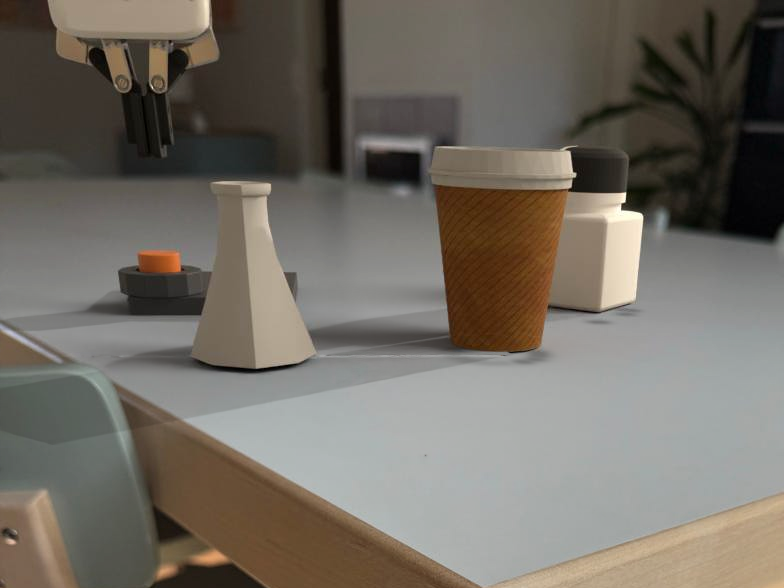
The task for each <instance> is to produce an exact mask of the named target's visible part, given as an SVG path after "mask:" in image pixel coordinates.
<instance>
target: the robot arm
mask: <svg viewBox="0 0 784 588" xmlns="http://www.w3.org/2000/svg"><path fill="white" fill-rule="evenodd" d="M47 5H48V9H49V14H50V18H51V21H52V23H53V26H54V27H55V28H56V39H55V40H56V41H55V50H56V54H57V55H58V56H59V57H60V58H62V59H65V60H69V61H72V62H77V63H80V64H83V65H87V66H90V67H93V68H95V69H96V70H97V71H98V72H99V73H100V74H101V75H102V76H103V77H105V78H106V80H107V81H108V82H109V83H111V84H112V86H114V88H115V89H116V90H117V91H118V92H119V93H120V97H121V102H122V104H121V105H122V111H123V118H124V125H125V132H126V137H127V142H128V145H129V146H136V151H137V155H138V156H137V157H138V158H139V159H148V158H154V159H164V158H167V157H168V150H167V149H168V148H167V146H174V144H175V139H174V129H173V122H172V121H173V120H172V114H171V105H170V97H169V94H170V93H171V92H172V90H173V88H174V87H175V85H176V84H177V83H178V82H179V81H180V79H181V78H182V77H183V75H184V74H185V73H186V72H187V70H188V69H192V68H196V67H201V66H203V65H207V64H211V63H214V62H217V61H218V60H219V59H220V55H221V53H220V50H219V45H218V42H217V40H216V37H215V33H214V30H213V12H212V11H213V10H212V1H211V0H47ZM84 41H89V42H99V43H101V44H102V47H103V48H101V47H98V46H94V45H91V44H87V43H85V42H84ZM128 43H132V44H133V43H134V44H137V43H138V44H149V45H148V48H149V50H148V51H149V52H148V53H149V54H148V57H149V58H148V81H147V83H146V84H145V87H146V92H145V93H144V92H143V87H142V84H141V83H140V82H139V81H138V78H137V75H136V71H135V66H134V63H133V60H132V56H131V52H130V47H129V44H128ZM174 44H190V45H186V46H183V47H180V48H175V49H174Z"/></svg>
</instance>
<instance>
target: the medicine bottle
mask: <svg viewBox="0 0 784 588" xmlns="http://www.w3.org/2000/svg"><path fill="white" fill-rule="evenodd" d="M559 150H566V151H570V154H571V162H572V169H573V173H576V177H574V178H572V186H571V188H568V194H567V199H566V205H565V210H564V216H563V222H562V227H561V234H560V239H559V245H558V250H557V257H556V261H555V267H554V273H553V279H552V286H551V290H550V296H549V302H548V307H551V308H552V307H553V308H561V309H568V310H577V311H586V312H592V313H601V312H605V311H608V310H611V309H615V308H619V307H623V306H625V305H629V304H633V303H635V301H636V296H637V287H638V276H639V266H640V255H641V246H642V237H643V236H642V234H643V225H644V215H643V214H642V213H641V212H637V211H634V210H633V211H632V210H622V204H624V203H626V198H627V188H628V187H627V186H628V177H629V167H630V157H629V155H628V154H627V153H626V152H625V151H624V150H622V149H620V148H616V147H612V146H606V145H605V146H601V145H599V146H598V145H570V146H564V147H562V148H560V149H559Z"/></svg>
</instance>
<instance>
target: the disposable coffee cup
mask: <svg viewBox="0 0 784 588" xmlns="http://www.w3.org/2000/svg"><path fill="white" fill-rule="evenodd" d="M426 170H427V173H428V174H430V183H431V184H433V185H434V194H435V204H436V205H435V206H436V213H437V225H438V233H439V242H440V244H439V245H440V253H441V264H442V273H443V282H444V292H445V302H446V311H447V320H448V322H447V323H448V329H449V330H448V331H449V341H450V343H451V344H452V345H454V346H457V347H460V348H463V349H469V350H474V351H477V350H478V351H485V352H507V353H514V352H524V351H531V350H535V349H537V348H539V347H540V346H542V341H543V336H544V330H545V324H546V319H547V313H548V307H549V306H548V302H549V296H550V290H551V286H552V279H553V273H554V267H555V261H556V257H557V250H558V245H559V239H560V234H561V227H562V222H563V216H564V210H565V205H566V199H567V194H568V188H571V186H572V178H574V177H576V173H573V169H572V162H571V154H570V151H566V150H560V149H549V148H526V147H525V148H524V147H500V146H499V147H497V146H450V145H449V146H448V145H447V146H446V145H445V146H434V150H433V155H432V159H431V165H430V167H427V168H426Z"/></svg>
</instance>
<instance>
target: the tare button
mask: <svg viewBox="0 0 784 588" xmlns="http://www.w3.org/2000/svg"><path fill="white" fill-rule="evenodd" d="M137 263H138V264H137V265H139V271H140V272H148V273H168V272H179V271H181V266H180V265H181V259H180V253H179V251H175V250H165V249H164V250H162V249H161V250H159V249H157V250H155V249H154V250H153V249H152V250H142V251H138V252H137Z"/></svg>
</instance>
